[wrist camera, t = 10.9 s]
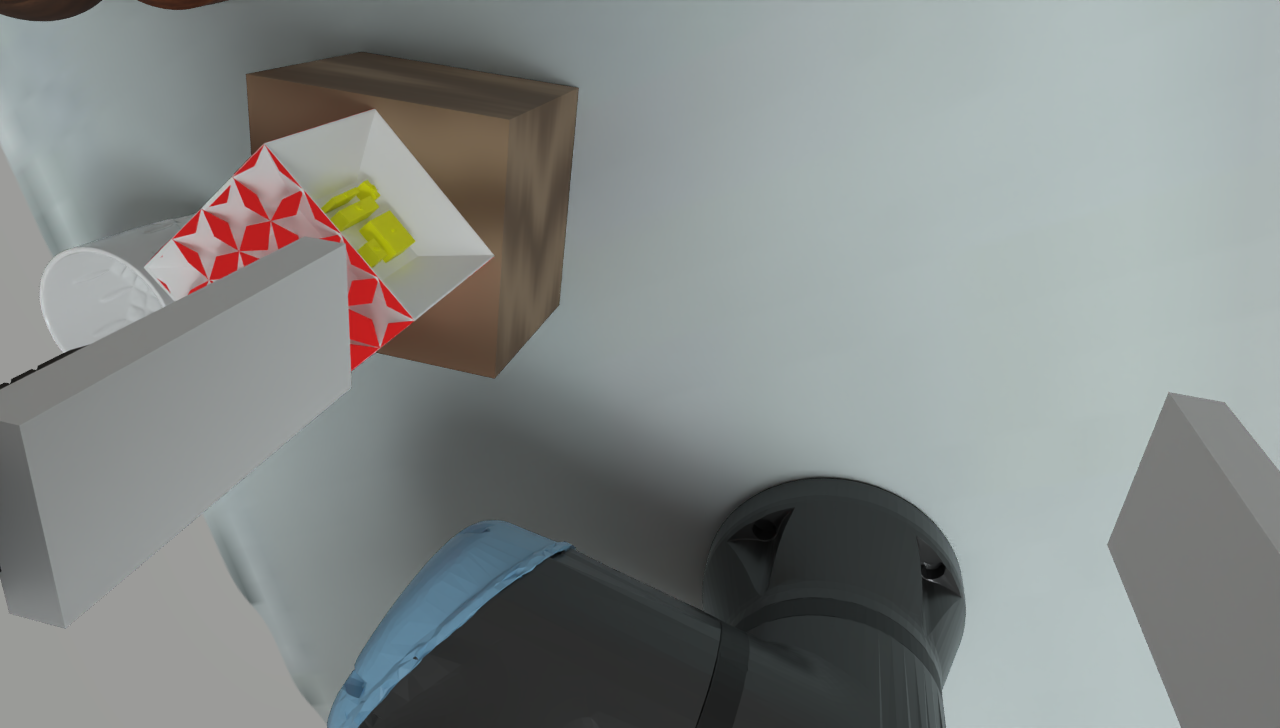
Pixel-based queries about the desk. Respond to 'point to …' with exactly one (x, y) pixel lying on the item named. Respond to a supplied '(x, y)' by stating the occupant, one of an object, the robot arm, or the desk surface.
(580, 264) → the desk surface
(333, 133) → the red white patterned cube
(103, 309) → the white cup
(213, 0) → the brown tall carved piece
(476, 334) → the walnut pedestal
